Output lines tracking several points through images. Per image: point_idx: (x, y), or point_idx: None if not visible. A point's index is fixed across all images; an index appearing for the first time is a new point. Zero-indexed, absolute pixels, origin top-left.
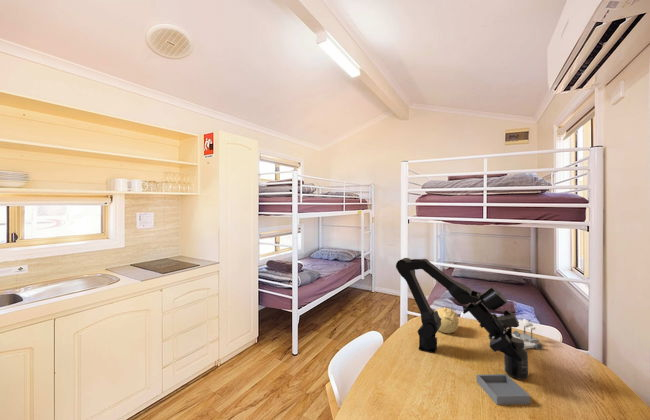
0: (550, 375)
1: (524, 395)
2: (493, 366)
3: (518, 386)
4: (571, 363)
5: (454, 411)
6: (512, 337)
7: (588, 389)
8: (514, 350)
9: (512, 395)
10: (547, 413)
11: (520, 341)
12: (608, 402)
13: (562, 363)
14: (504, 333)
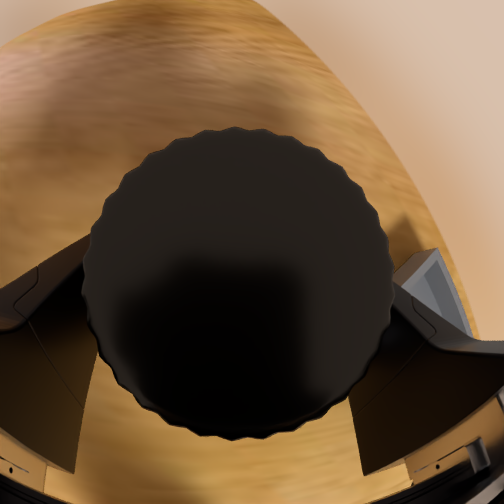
0: (126, 129)
1: (444, 269)
2: None
3: (407, 288)
4: (19, 74)
5: None
6: (119, 336)
7: (182, 44)
8: (426, 306)
9: (461, 310)
10: (424, 208)
11: (280, 184)
12: (238, 26)
13: (21, 93)
14: (16, 440)
